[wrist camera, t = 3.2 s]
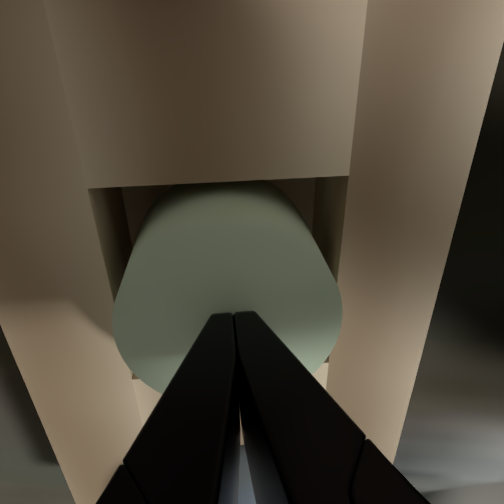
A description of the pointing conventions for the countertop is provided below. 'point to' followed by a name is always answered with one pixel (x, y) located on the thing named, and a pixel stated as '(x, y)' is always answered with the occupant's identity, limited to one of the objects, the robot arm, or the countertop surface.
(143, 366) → the green button
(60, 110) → the button panel
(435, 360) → the countertop surface
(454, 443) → the countertop surface
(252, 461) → the robot arm
